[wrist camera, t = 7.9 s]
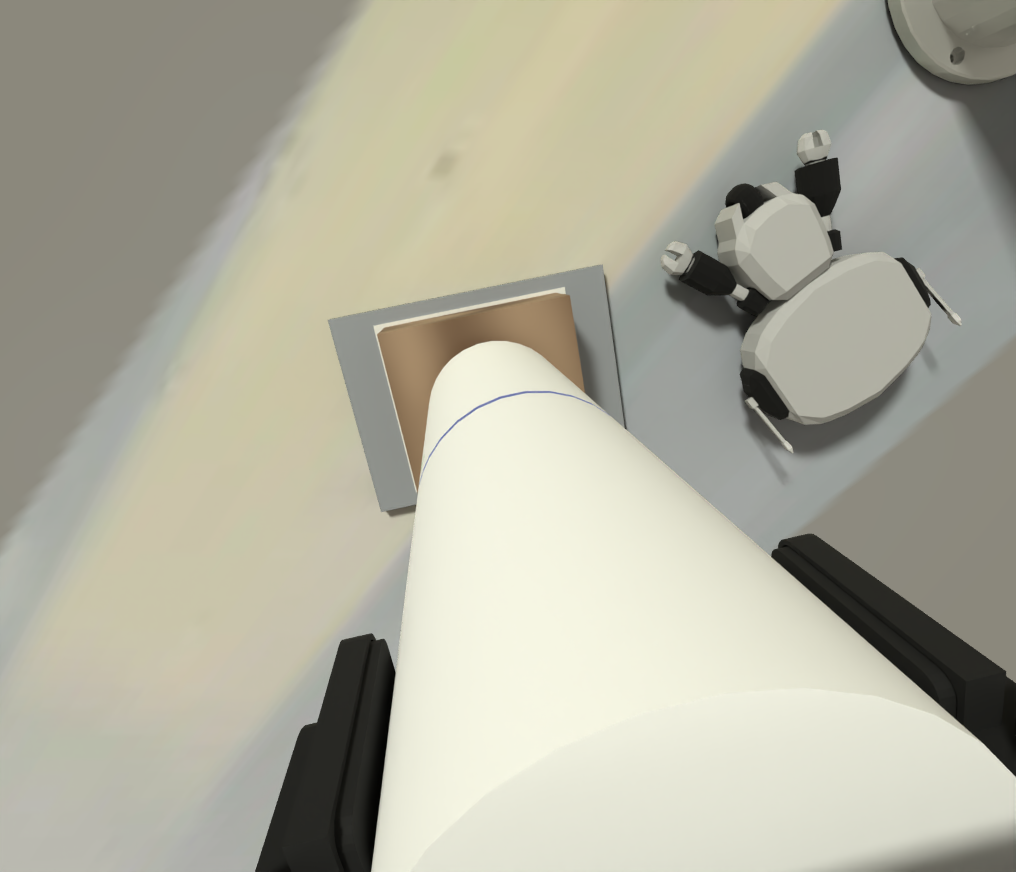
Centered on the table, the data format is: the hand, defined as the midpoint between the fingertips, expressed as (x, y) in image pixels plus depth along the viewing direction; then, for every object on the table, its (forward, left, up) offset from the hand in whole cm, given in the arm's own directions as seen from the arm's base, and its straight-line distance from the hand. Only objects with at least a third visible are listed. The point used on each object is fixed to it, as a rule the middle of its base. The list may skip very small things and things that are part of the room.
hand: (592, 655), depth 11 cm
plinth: (0, 0, -25) cm, 25 cm away
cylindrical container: (0, 0, -20) cm, 20 cm away
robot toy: (-19, -2, -26) cm, 32 cm away
